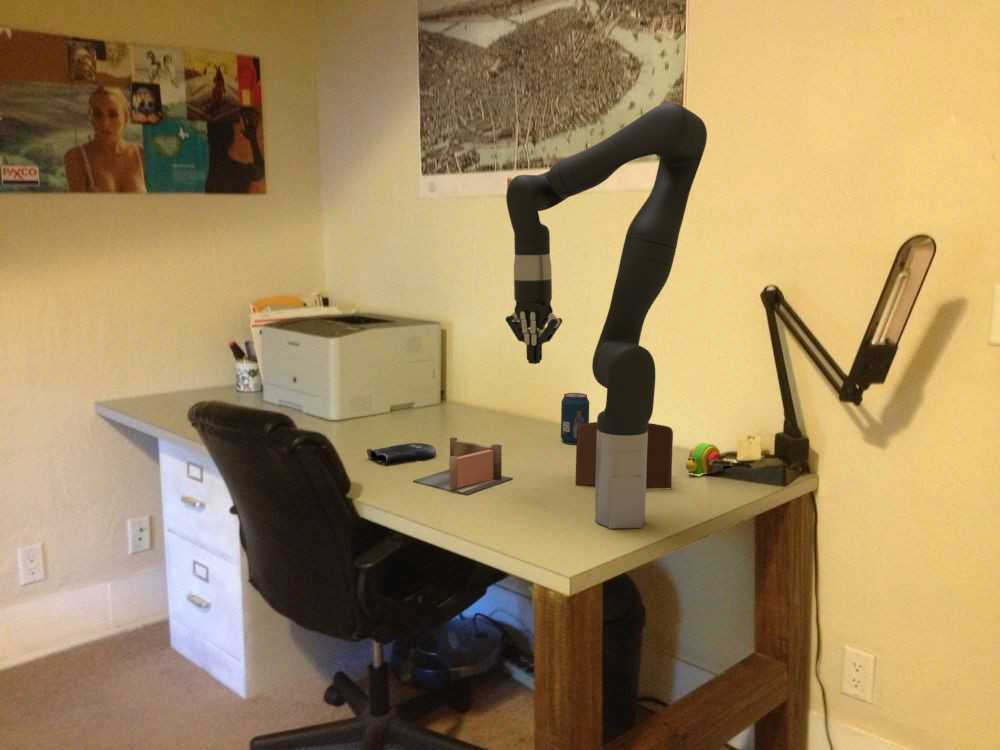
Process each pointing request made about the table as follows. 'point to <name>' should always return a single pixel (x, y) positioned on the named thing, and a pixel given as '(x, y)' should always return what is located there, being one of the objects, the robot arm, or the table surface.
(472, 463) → the swing panel
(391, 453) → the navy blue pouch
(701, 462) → the toy measuring tape
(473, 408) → the table surface
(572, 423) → the soda can
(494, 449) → the grey and brown panels
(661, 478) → the letter holder
